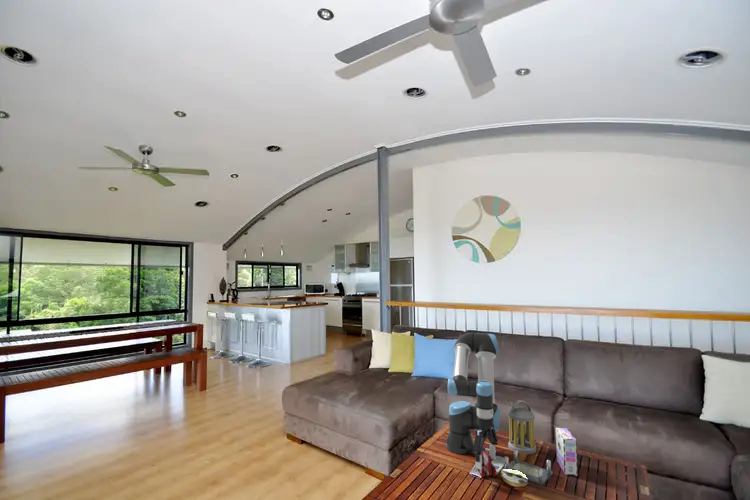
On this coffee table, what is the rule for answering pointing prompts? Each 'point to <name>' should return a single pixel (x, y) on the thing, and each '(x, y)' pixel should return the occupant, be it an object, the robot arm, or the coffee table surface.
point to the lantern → (521, 429)
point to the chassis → (529, 469)
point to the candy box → (566, 451)
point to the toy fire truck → (487, 465)
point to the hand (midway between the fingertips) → (485, 463)
